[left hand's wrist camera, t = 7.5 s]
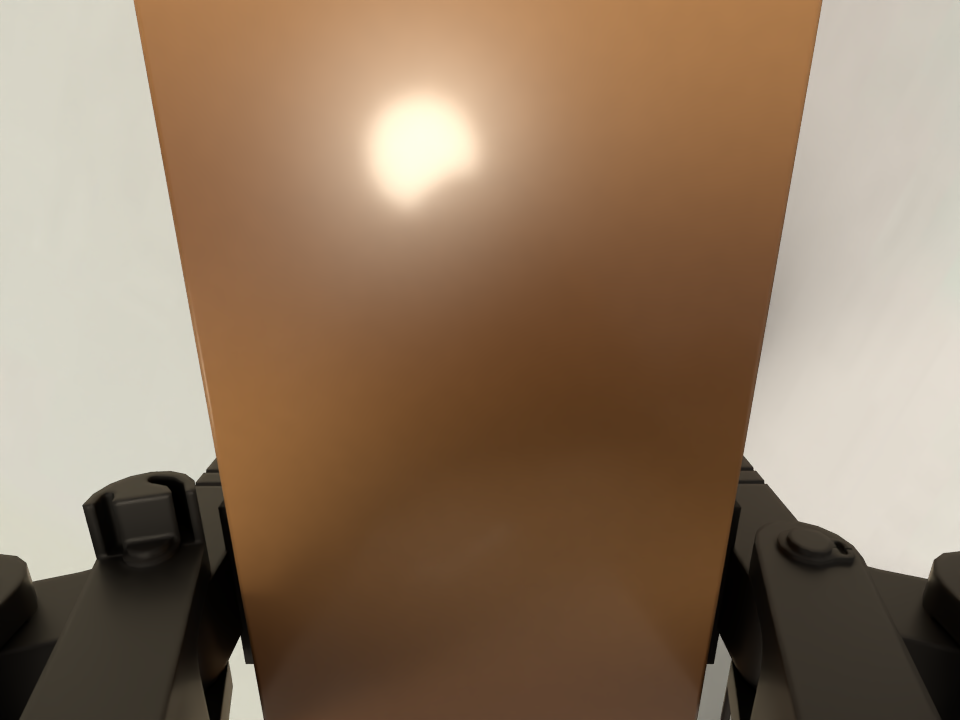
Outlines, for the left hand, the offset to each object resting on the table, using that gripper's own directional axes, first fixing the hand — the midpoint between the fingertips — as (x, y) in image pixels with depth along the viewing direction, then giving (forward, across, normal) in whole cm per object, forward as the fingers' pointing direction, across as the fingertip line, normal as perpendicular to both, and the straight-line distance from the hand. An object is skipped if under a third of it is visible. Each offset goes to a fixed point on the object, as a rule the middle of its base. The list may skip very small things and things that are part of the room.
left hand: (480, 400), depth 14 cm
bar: (0, 0, -23) cm, 23 cm away
